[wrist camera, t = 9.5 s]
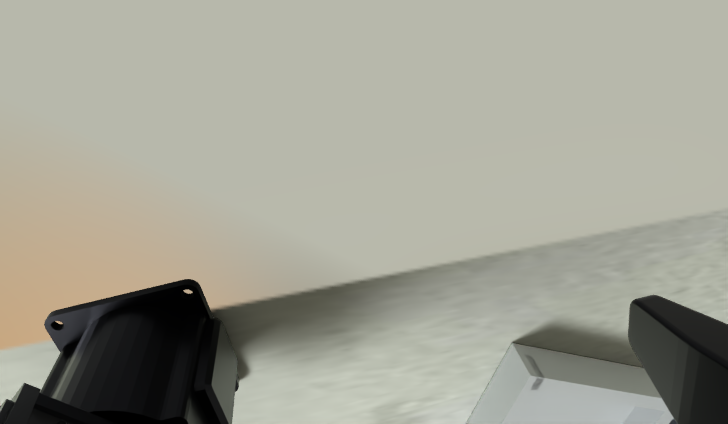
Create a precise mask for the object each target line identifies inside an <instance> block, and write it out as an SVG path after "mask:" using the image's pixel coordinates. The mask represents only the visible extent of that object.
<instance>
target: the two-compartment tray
mask: <svg viewBox="0 0 728 424" xmlns="http://www.w3.org/2000/svg"><path fill="white" fill-rule="evenodd" d="M673 419H674V418H673V416H672V415H671V413H670V412H669V410H668V408H667V406H666V405H665V403H664V401H663V400H662V398H661V396H660V395H659V393H658V391H657V390H656V388H655V386H654V384H653V383H652V381H651V379H650V378H649V376H648V374H647V373H646V371H645V369H644V368H641V367H636V366H631V365H625V364H620V363H615V362H610V361H604V360H599V359H594V358H589V357H583V356H578V355H573V354H568V353H562V352H557V351H552V350H547V349H541V348H536V347H531V346H526V345H520V344H515V343H512V344H511V345H510V347H509V349H508V351H507V353H506V354H505V356H504V358H503V360H502V361H501V363H500V365H499V367H498V368H497V370H496V372H495V374H494V375H493V377H492V379H491V381H490V383H489V384H488V386H487V388H486V390H485V391H484V393H483V395H482V397H481V398H480V400H479V402H478V404H477V405H476V407H475V409H474V411H473V413H472V414H471V416H470V418H469V420H468V421H467V423H466V424H669V423H670V422H671V420H673Z"/></svg>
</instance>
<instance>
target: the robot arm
mask: <svg viewBox="0 0 728 424" xmlns="http://www.w3.org/2000/svg"><path fill="white" fill-rule="evenodd" d="M185 289H189V290H191V291H192V292H193V293H191V294H187V293H185V292H184V291H183V290H185ZM55 321H60V322H62V323H63V324H58V323H56V322H55ZM44 325H45V328H46V330H47V332H48V333H49V335H50V336H51V338H52V340H53V341H54V343H55V344H56V346H57V348H58V349H59V351H60V352H61V353H60V355H59V357H58V359H57V361H56V363H55V365H54V366H53V368H52V370H51V372H50V374H49V376H48V378H47V380H46V382H45V384H44V386H43V388H42V389H38V388H36V387H33V386H31V385H28V384H26V383H24V384H23V385H22V387H21V388H20V389H19V391H18V392H17V393H16V395H15V396H14V397H13V399H12V400H8V399H6V400H5V402H4V403H3V404H2V405H1V406H0V424H232V417H233V406H234V396H235V392H236V391H237V390H238V387H239V377H238V375H237V364H238V360H237V357H236V355H235V352H234V350H233V347H232V345H231V343H230V340H229V338H228V335H227V333H226V330H225V328H224V326H223V323H222V321H221V320H219V319H218V318H213V315H212V313H211V310H210V308H209V306H208V303H207V301H206V298H205V296H204V294H203V291H202V289H201V287H200V285H199V284H198V282H196V281H194V280H191V279H185V280H180V281H177V282H172V283H168V284H164V285H160V286H156V287H151V288H147V289H143V290H139V291H135V292H130V293H127V294H122V295H118V296H114V297H110V298H106V299H101V300H97V301H93V302H89V303H84V304H80V305H76V306H72V307H68V308H64V309H60V310H56V311H53V312H51V313H50V314H49V316H48V317H47V319H46V321H45V324H44ZM628 337H629V342H630V345H631V347H632V349H633V351H634V352H635V354H636V356H637V357H638V359H639V361H640V362H641V364H642V366H643V368H644V369H645V371H646V373H647V374H648V376H649V378H650V379H651V381H652V383H653V384H654V386H655V388H656V390H657V391H658V393H659V395H660V396H661V398H662V400H663V401H664V403H665V405H666V406H667V408H668V410H669V412H670V413H671V415H672V416H673V418H674V419H675V421H676V423H677V424H728V324H726V323H723V322H721V321H718V320H716V319H714V318H711V317H709V316H706V315H704V314H701V313H699V312H697V311H694V310H692V309H689V308H687V307H684V306H682V305H680V304H677V303H675V302H672V301H670V300H668V299H665V298H663V297H660V296H657V295H650V296H646V297H642V298H638V299H635V300H633V301H632V302H631V304H630V313H629V328H628ZM40 390H41V391H40Z"/></svg>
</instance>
